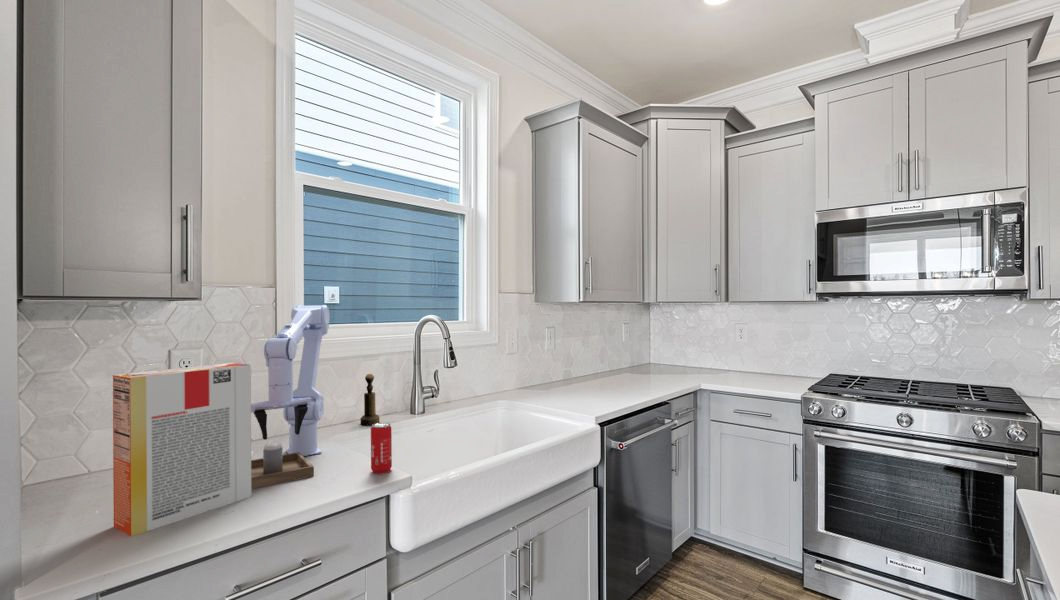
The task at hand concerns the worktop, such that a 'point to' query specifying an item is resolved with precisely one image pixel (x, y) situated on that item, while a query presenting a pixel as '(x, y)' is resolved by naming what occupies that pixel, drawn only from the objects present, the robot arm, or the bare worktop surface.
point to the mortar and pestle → (369, 404)
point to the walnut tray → (292, 470)
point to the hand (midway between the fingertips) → (281, 436)
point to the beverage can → (381, 448)
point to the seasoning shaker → (272, 458)
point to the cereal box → (180, 443)
